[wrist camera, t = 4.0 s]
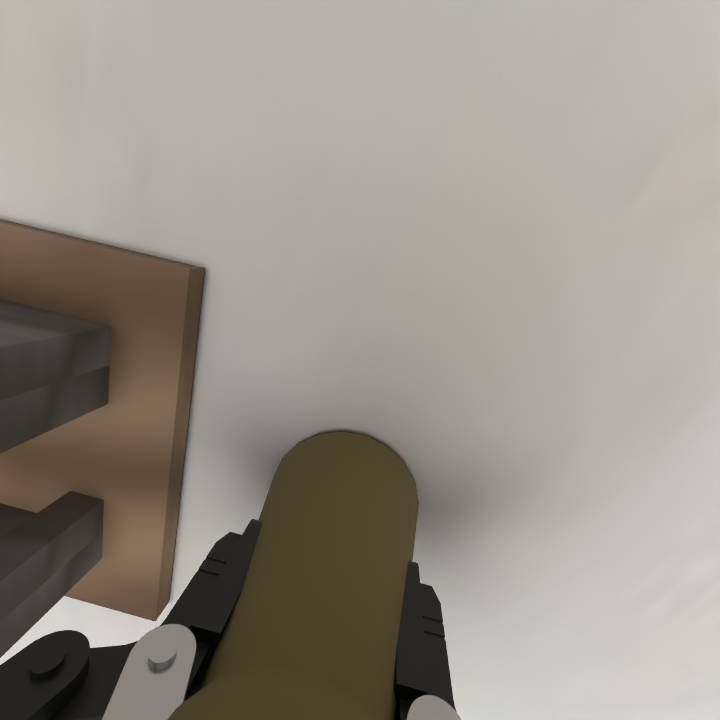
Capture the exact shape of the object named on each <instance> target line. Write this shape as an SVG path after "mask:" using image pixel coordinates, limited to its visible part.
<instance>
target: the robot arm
mask: <svg viewBox="0 0 720 720" xmlns="http://www.w3.org/2000/svg"><path fill="white" fill-rule="evenodd" d="M261 526H262V522H261V521H258V520H255V519H252V520H251V521H250V523H249V524H248V526H247V528H246V529H245V531H244V533H243V535H240V534H236V533H233V532H229V533H228V534H227V535H225V536H224V537H223V538H221V539H220V540H219V541H217V542H216V543H215V545H214V546H213V548H212V549H211V551H210V552H209V554H208V555H207V557H206V560H204V561H203V563H202V564H201V566H200V568H199V570H198V572H196V574H195V575H194V577H193V578H192V580H191V581H190V583H189V584H188V586H187V587H186V589H185V590H184V592H183V593H182V595H181V596H180V598H179V599H178V601H177V602H176V604H175V606H174V607H173V609H172V610H171V612H170V613H169V615H168V616H167V618H166V619H165V620H164V622H163V623H162V624H161V625H160V626H159V627H157V628H155V629H153V630H151V631H149V632H148V633H146V634H145V635H144V636H143V637H142V638H140V640H139V641H136V642H134V643H130V644H127V645H121V646H110V647H98V648H90V646H89V641H88V639H87V638H86V636H85V635H83V634H82V633H80V632H77V631H72V630H64V631H58V632H54V633H51V634H48V635H46V636H43V637H42V638H40V639H38V640H36V641H34V642H33V643H31V644H30V645H28V646H27V647H25V648H24V649H23V650H21V651H20V652H18V653H17V654H16V655H14V656H13V657H11V658H10V659H9V660H7V661H6V662H4V663H3V664H1V665H0V720H167V719H168V718H169V717H170V716H171V714H172V713H173V712H174V710H175V709H176V708H177V707H179V706H180V705H181V704H182V703H184V702H185V701H186V700H188V699H189V698H190V697H191V696H193V695H194V694H196V693H197V692H198V691H200V688H201V685H202V682H203V679H204V676H205V673H206V671H207V668H208V665H209V662H210V660H211V658H212V656H213V654H214V652H215V650H216V648H217V646H218V644H219V642H220V640H221V637H222V635H223V633H224V630H225V628H226V625H227V623H228V621H229V618H230V616H231V614H232V611H233V609H234V607H235V604H236V602H237V600H238V597H239V595H240V593H241V590H242V588H243V585H244V583H245V579H246V576H247V573H248V569H249V566H250V563H251V559H252V556H253V553H254V549H255V546H256V543H257V540H258V536H259V533H260V530H261ZM442 623H443V619H442V611H441V604H440V601H439V599H438V598H437V596H436V594H435V592H434V590H433V588H432V586H429V585H425V584H421V583H420V578H419V566H418V563H415V562H411V561H409V562H408V567H407V574H406V581H405V589H404V596H403V604H402V611H401V619H400V626H399V634H398V641H397V650H396V666H395V682H394V694H395V699H396V704H397V705H396V714H395V720H461V718H460V717H459V715H458V714H457V712H456V709H455V706H454V701H453V694H452V687H451V679H450V671H449V664H448V656H447V649H446V641H445V639H444V638H445V634H444V626H443V624H442Z"/></svg>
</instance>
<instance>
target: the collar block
mask: <svg viewBox="0 0 720 720" xmlns="http://www.w3.org/2000/svg"><path fill="white" fill-rule="evenodd" d="M204 272H205V269H204V268H200V267H196V266H192V265H188V264H183V263H179V262H175V261H171V260H167V259H163V258H158V257H154V256H150V255H146V254H142V253H138V252H133V251H129V250H125V249H121V248H117V247H113V246H108V245H104V244H100V243H96V242H92V241H88V240H83V239H79V238H75V237H71V236H67V235H63V234H58V233H54V232H50V231H46V230H42V229H38V228H33V227H29V226H25V225H21V224H17V223H13V222H8V221H4V220H0V658H1V657H2V656H3V655H4V654H5V653H6V652H7V651H8V650H9V649H10V648H11V647H12V646H13V645H14V644H15V643H16V642H17V641H18V640H19V639H20V638H21V637H22V636H23V635H24V634H25V633H26V632H27V631H28V630H29V629H30V628H31V627H32V626H33V625H34V624H35V623H36V622H38V621H39V620H40V619H41V618H42V617H43V616H44V615H45V614H46V613H47V612H48V611H49V610H50V609H51V608H52V607H53V606H54V605H55V604H56V603H57V602H58V601H59V600H60V599H61V598H62V597H63V596H67V597H71V598H74V599H78V600H81V601H85V602H88V603H92V604H95V605H99V606H103V607H106V608H110V609H113V610H117V611H120V612H124V613H127V614H131V615H134V616H138V617H142V618H145V619H149V620H152V621H156V620H157V618H158V617H159V615H160V614H161V613H162V611H163V610H164V608H165V607H166V605H167V604H168V602H169V596H170V587H171V578H172V569H173V559H174V550H175V541H176V531H177V522H178V513H179V504H180V494H181V485H182V476H183V467H184V457H185V448H186V439H187V429H188V420H189V411H190V402H191V392H192V383H193V374H194V365H195V355H196V346H197V337H198V328H199V318H200V309H201V300H202V290H203V281H204Z"/></svg>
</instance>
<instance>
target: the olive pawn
mask: <svg viewBox="0 0 720 720" xmlns="http://www.w3.org/2000/svg"><path fill="white" fill-rule="evenodd" d="M418 503H419V502H418V496H417V490H416V484H415V481H414V479H413V477H412V475H411V473H410V472H409V470H408V468H407V466H406V464H405V462H404V461H402V460H401V459H400V458H399V457H398V456H397V455H396V454H395V453H394V452H393V451H392V450H391V449H390V448H388V447H387V446H386V445H384V444H381V443H379V442H377V441H375V440H373V439H371V438H369V437H367V436H365V435H359V434H353V433H347V432H334V433H326V434H318V435H316V436H313V437H311V438H309V439H307V440H305V441H303V442H301V443H298V444H297V445H296V446H295V447H294V448H293V449H292V450H291V451H290V452H289V453H288V454H287V455H286V456H285V457H283V458H282V460H281V463H280V465H279V467H278V469H277V471H276V473H275V475H274V478H273V480H272V483H271V486H270V489H269V492H268V495H267V498H266V501H265V503H264V506H263V509H262V512H261V515H260V518H259V521H261V522H262V526H261V530H260V533H259V536H258V540H257V543H256V546H255V549H254V553H253V556H252V559H251V563H250V566H249V569H248V573H247V576H246V579H245V583H244V585H243V588H242V590H241V593H240V595H239V597H238V600H237V602H236V604H235V607H234V609H233V611H232V614H231V616H230V618H229V621H228V623H227V625H226V628H225V630H224V633H223V635H222V637H221V640H220V642H219V644H218V646H217V648H216V650H215V652H214V654H213V656H212V658H211V660H210V662H209V665H208V668H207V671H206V673H205V676H204V679H203V682H202V685H201V688H200V691H198V692H197V693H196V694H194V695H193V696H191V697H190V698H189V699H188V700H186V701H185V702H184V703H182V704H181V705H180V706H179V707H177V708H176V709H175V710H174V712H173V713H172V714H171V716H170V717H169V718H168V719H167V720H395V714H396V705H397V704H396V699H395V694H394V682H395V666H396V650H397V641H398V634H399V626H400V619H401V611H402V604H403V596H404V589H405V581H406V574H407V567H408V562H409V561H411V562H412V558H413V549H414V540H415V531H416V522H417V513H418Z"/></svg>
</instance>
